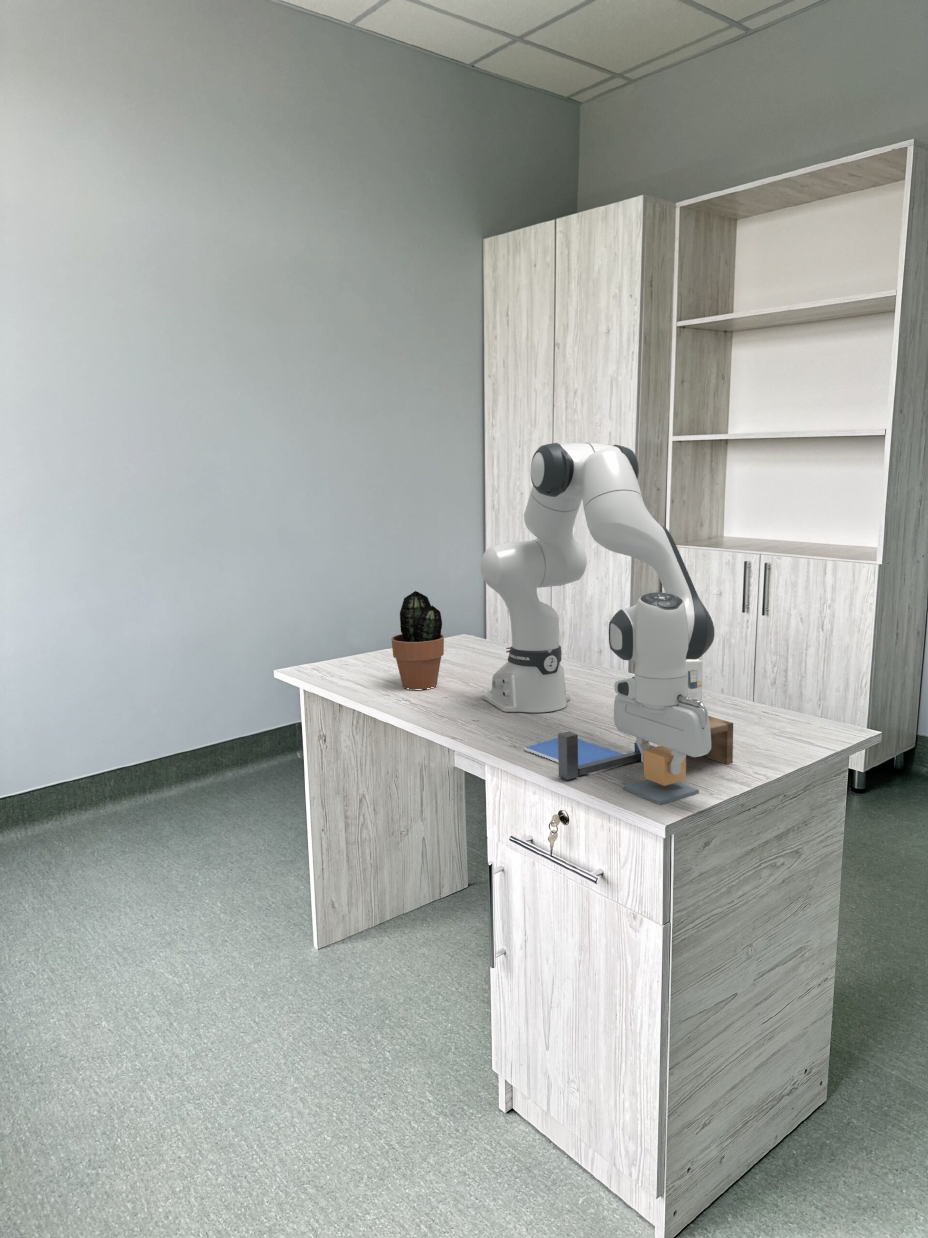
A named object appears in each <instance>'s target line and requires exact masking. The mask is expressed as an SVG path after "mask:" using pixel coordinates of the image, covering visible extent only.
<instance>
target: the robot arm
mask: <svg viewBox="0 0 928 1238" xmlns="http://www.w3.org/2000/svg"><path fill="white" fill-rule="evenodd" d="M639 467H640V465H639V460H638V458H637V456H636V454H635V452H634V451H633V450H632V449H631V448H629V447H626V446H623V445H619V444H612V445H610V444H605V443H598V442H597V443H596V442H572V443H558V442H554V443H552V442H551V443H547V444H543V445H540V446H539V447H538V448H537V449H536V450H535V452H534V454H533V455H532V459H531V463H530V480H531V483H532V488H531V489H530V490H531V491H530V494H529V497H528V500H527V504H526V507H525V510H524V514H523V520H524V521H523V522H524V523H525V524H524V525H525V527H526V529H527V530H528V531H529V533H530V534H532V535H533V536H534V537H536V538H535V539H533V540H523V541H508V542H503V543H499V544H496V545H492V546H489V547H488V548H486V550H485V551H484V552H483V554H482V556H481V560H480V566H479V567H480V574H481V576H482V579H483V581H484V582H485V584H486V585H487V586H488V587H490V589H492V590H494V592H496V593H497V594H498V595H499V596H500V597H501V599H502V601H503V602H504V603H505V606H506V608H507V610H508V615H509V618H510V619H509V620H510V629H511V646H510V647H506V648H505V649H506V651H505V652H506V653H508V657H507V661H506V662H505V664H504V665H502V666H501V667H500V668H499V669H498V670H497V671H495V673H494V674H493V675H492V679H491V690H488V691H487V692H486V691H485V692H484V693H482V696H481V697H482V699H483V700H484V701H486V702H488V703H490V704H491V705H493V706H494V707H496V708H498V709H499V710H500V711H502V712H506V713H509V712H511V713H514V712H515V713H516V712H521V713H547V712H554V711H559V710H562V709H564V708H566V707H567V706H568V701H570V700H571V698H570V695H569V694H567V687H566V677H565V670H564V667H563V665H562V664H561V662H562V654H563V652H562V647H561V645H560V617H559V615H558V613H557V611H556V610H555V609H554V608H553V606H550V604H549V605H548V604H547V603H544V602H543V601H541V600H540V599H539V596H538V592H537V590H538V589H539V588H550V587H552V588H553V587H561V586H565V585H568V584H571V583H574V582H577V581H580V580H581V579H582V577H583V576H584V574H585V571H586V569H587V555H586V552H585V550H584V548H583V546H582V545H581V544H580V543H579V542H578V541H577V540H575V538H574V534H573V533H574V526H575V523H576V522H575V521H576V519H577V516H578V512H579V508H580V506H581V503H582V507H583V510H584V511H583V512H584V515H585V516H584V517H585V522H586V525H587V528H588V530H589V534H590V535H591V537H592V538H593V540H594V541H595V542H596V543H597V544H599V545H600V546H601V547H603V548H604V549H606V550H608V551H610V552H613V553H615V554H621V555H623V556H624V555H625V556H628V557H630V558H634V559H636V560H639V561H641V562H643V563H645V564H647V565H648V566H650V567H651V568H652V569H653V571H655V572H656V574H657V576H658V578H659V581H660V582H661V585H662V588H663V590H664V592H658V591H657V592H649V593H645V594H643V595H641V596H640V597H639V598H638V600H637V602H636V604H635V605H632V606H628V607H625V608H623V609H622V608H621V609H619V610H618V611H617V612H616V613H615V614H614V615H613V616H612V618H610V621H609V622H608V623H609V624H608V643H609V648H610V650H611V652H613V654H615V655H616V656H617V657H619V658H620V659H621V660H622V661H629V662H635V663H636V664H635V669H634V676H632V677H629V678H623V679H621V680H618V681H615V682H614V685H613V686H614V692H615V693H616V695H615V698H614V703H613V721H614V725H615V727H616V729H617V731H618V732H621V733H624V734H626V735H630V736H633V737H635V738H636V739H635V740H636V741H635V743H637V745H638V748H639V750H640V752H641V760H640V761H641V763H643V764H644V750H646V749H650V746H649V745H650V743H653V744H655V745H658V746H663V747H666V748H669V749H672V755H673V756H674V757H673V760H672V762H669V763H667V767H668V769H667V771H668V772H669V773H671V774H674V775H676V774H679V773H680V772H681V763H682V762H683V760H684V758H685V757H686V758H687V756H688V757H691V758H697V757H698V758H699V757H702V756H703V755H706V754H708V753H709V751H710V750H711V732H710V723H709V718H708V716H709V712H708V709H707V708H706V707H705V705H704V704H703V701H702V702H701V701H699V700H697V699H691V698H689V697H688V669H687V666H686V659H693V660H696V659H698V658H700V657H701V656H702V657H703V656H704V654H706V653H707V651H708V650H709V649H710V647H711V646H712V644H713V642H714V640H715V626H714V622H713V619H712V616H711V615H710V613H709V611H708V609H707V608H706V606H705V605H704V603H703V602H702V600H701V598H700V597H699V596H700V595H698V592H697V590H696V588H695V585H694V583H693V580H692V579H691V576H690V574H689V571H688V569H687V566H686V564H685V561H684V560H683V558H682V556H681V553H680V550H679V548H678V546H677V544H676V542H675V540H674V538H673V535H671V533H670V531H669V529H668V528H667V527H665V526H664V525H662V524H660V523H658V521H657V520H656V519H655V518H654V517H653V516H652V515H651V513H650V512H649V510H648V508H647V507H646V504H645V502H644V500H643V499H644V498H643V495H642V491H641V487H640V485H639V482H638V479H639V471H640V469H639ZM700 706H701V707H700ZM703 757H704V756H703Z"/></svg>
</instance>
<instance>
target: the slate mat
mask: <svg viewBox="0 0 928 1238" xmlns="http://www.w3.org/2000/svg"><path fill="white" fill-rule="evenodd" d="M622 787H623V788H622V789H623V790H625V791H627V792H629V793H631V794H634V795H636V796H638V797H641V798H643V799H646V800H648V801H650V802H652V803H655V804H658V805H660V806H661V805H663V804H666V803H670V802H673V801H677V800H680V799H683V798H687V797H690V796H695V795H697V794H699V793H700V790H699V789H698V788H696V787H693V786H690V785H688V784H685V783H682V782H681V781H680V782H676V783H673V784H669V785H666V786H663V785H661V784H658V783H656V782H653V781H651V780H648V779H644V780H639V781H636V782H632V783H629V784H626V785H623V786H622Z"/></svg>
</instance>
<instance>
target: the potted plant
mask: <svg viewBox="0 0 928 1238" xmlns="http://www.w3.org/2000/svg"><path fill="white" fill-rule="evenodd" d="M428 597H429V596H427V595H424V594H422V593H421V592H418V591H417V590H414V591H413V592H412V593H410V594H408V595H407V596H405V597H404V598H403V601H402V605H401V608H400V611H399V622H400V624H399V625H400V626H399V627H400V634H397V635H394V636H391V647H392V649H391V650H392V656H393V658H394V659H395V661H396V665H397V668H398V671H399V677H400V681H401V685H402V688H403V687H405V688H409V689H427V688H431V687H434V686H436V685H437V686H438V679H439V673H440V668H441V667H440V666H441V661H442V657H443V656H444V654H445V653H444V652H445V651H444V650H445V647H444V646H445V645H444V644H445V635H443V634H442V630H443V629H442V627H443V620H442V619H443V618H442V614H441V611H440V610H439V609H437V608H436V607H435V606H434V605H431V601H430V600H429V598H428ZM437 686H436V687H437ZM405 688H404V689H405ZM434 688H435V687H434Z"/></svg>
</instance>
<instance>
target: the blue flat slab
mask: <svg viewBox="0 0 928 1238" xmlns="http://www.w3.org/2000/svg"><path fill="white" fill-rule="evenodd" d="M524 750H525V751H524ZM523 751H524V752H526V753H530V752H531V753H530V754H532V753H534V754H533V755H535V754H536V755H535V756H538V755H539V756H538V757H541V756H542V757H541V758H543V757H545V758H544V759H546V758H548V759H547V760H549V759H550V760H549V761H551V760H552V762H554V761H555V762H554V763H557V764H559V762H558V737H557V738H553V739H550V740H547V741H542V742H539V743H535V744H531V745H528V746H525V747H524V748H523ZM623 754H624V753H623V752H620V751H616V750H613V749H610V748H607V747H604V746H601V745H598V744H595V743H592V742H589V741H586V740H583V739H580V738H578V766H579V765H583V764H587V763H591V762H595V761H599V760H603V759H607V758H611V757H615V756H619V755H623ZM623 765H624V766H625V764H623ZM623 765H619V766H615V767H611V768H607V769H603V770H600V771H596V772H592V773H588V774H587V775H594V774H598V773H600V772H601V771H602V772H605V771H608V770H610V769H614V768H617V767H620V766H623Z"/></svg>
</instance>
